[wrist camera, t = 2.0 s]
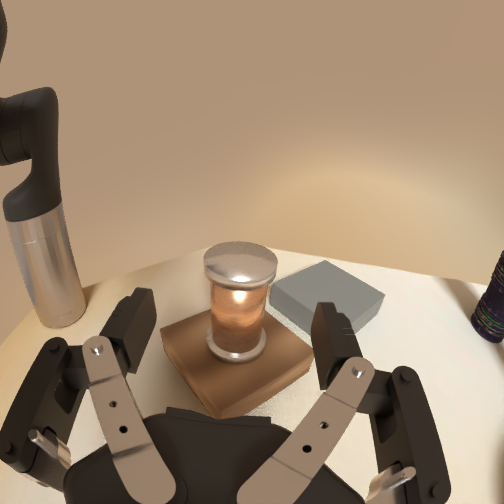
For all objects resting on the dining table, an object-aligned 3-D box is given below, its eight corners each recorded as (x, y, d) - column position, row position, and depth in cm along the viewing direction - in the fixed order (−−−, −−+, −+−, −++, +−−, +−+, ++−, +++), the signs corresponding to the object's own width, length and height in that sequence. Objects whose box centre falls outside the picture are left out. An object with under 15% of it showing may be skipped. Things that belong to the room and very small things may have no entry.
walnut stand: (164, 350, 32) (159, 328, 30) (244, 316, 40) (246, 294, 38) (221, 427, 23) (221, 411, 22) (308, 371, 31) (316, 350, 29)
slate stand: (269, 304, 42) (272, 283, 41) (320, 278, 50) (325, 260, 48) (332, 352, 34) (341, 331, 32) (377, 313, 41) (385, 294, 39)
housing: (195, 335, 30) (190, 251, 25) (241, 315, 34) (247, 236, 29) (229, 374, 26) (231, 288, 20) (276, 347, 29) (292, 264, 24)
